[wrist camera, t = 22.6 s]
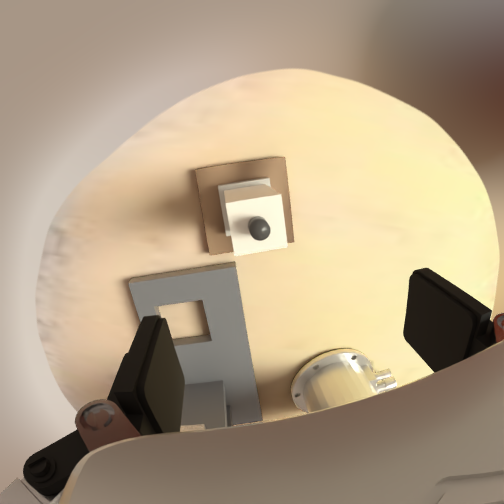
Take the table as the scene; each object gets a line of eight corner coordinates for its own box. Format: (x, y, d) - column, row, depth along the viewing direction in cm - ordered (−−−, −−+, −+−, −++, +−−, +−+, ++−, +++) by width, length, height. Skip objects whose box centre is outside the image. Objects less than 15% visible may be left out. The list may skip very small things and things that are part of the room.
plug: (267, 177, 30) (292, 188, 20) (274, 225, 31) (299, 258, 21) (217, 185, 29) (217, 200, 20) (226, 233, 31) (229, 271, 21)
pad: (283, 156, 30) (285, 157, 29) (292, 239, 33) (294, 242, 32) (195, 169, 30) (195, 169, 29) (210, 252, 33) (209, 255, 32)
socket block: (235, 261, 33) (248, 344, 19) (261, 413, 41) (277, 497, 27) (131, 277, 32) (82, 360, 18) (184, 422, 41) (180, 506, 26)
